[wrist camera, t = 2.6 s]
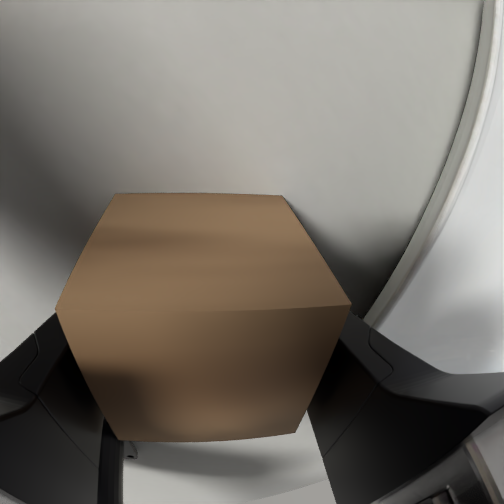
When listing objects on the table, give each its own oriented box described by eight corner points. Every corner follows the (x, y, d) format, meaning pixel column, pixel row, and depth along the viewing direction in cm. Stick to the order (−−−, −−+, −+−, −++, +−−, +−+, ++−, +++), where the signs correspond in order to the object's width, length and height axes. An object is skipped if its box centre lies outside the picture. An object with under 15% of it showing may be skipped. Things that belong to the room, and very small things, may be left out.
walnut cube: (262, 318, 12) (295, 432, 8) (132, 319, 11) (118, 439, 7) (281, 195, 9) (351, 304, 5) (115, 193, 8) (55, 308, 4)
